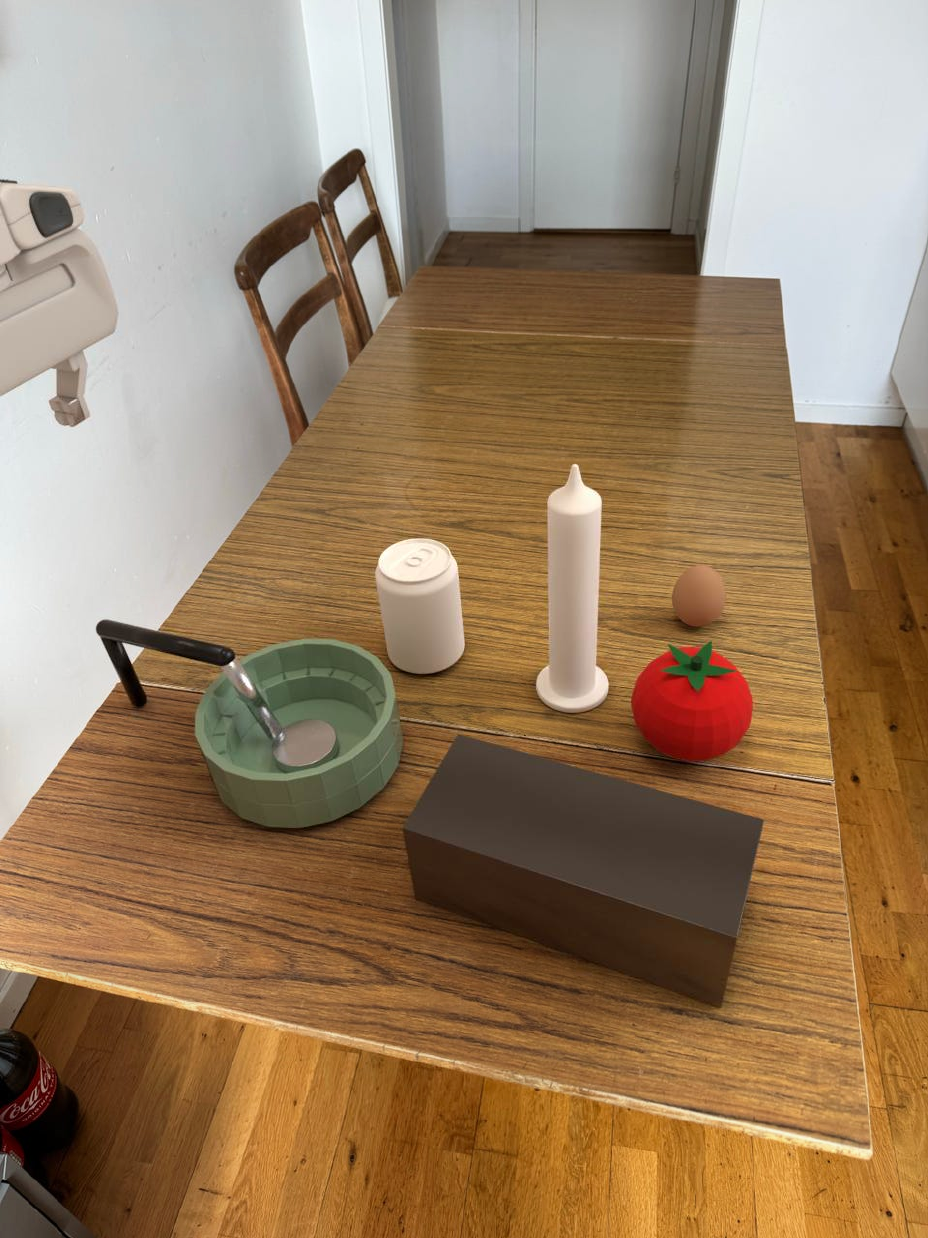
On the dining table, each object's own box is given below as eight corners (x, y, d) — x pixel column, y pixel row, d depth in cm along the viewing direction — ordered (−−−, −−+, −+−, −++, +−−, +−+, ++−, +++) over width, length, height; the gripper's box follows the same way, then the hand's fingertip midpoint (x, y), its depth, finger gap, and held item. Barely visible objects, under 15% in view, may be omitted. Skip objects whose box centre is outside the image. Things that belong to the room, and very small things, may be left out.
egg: (721, 641, 92) (729, 586, 87) (667, 635, 93) (673, 581, 89) (722, 608, 96) (730, 555, 91) (671, 603, 97) (676, 550, 93)
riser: (721, 1008, 62) (737, 938, 56) (414, 898, 71) (401, 828, 65) (747, 892, 69) (764, 819, 63) (465, 805, 78) (458, 733, 72)
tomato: (741, 704, 85) (756, 623, 78) (750, 789, 77) (766, 707, 70) (630, 696, 86) (635, 616, 80) (627, 779, 79) (632, 698, 72)
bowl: (343, 859, 74) (330, 805, 70) (175, 799, 80) (152, 746, 76) (434, 716, 86) (427, 662, 82) (281, 674, 92) (267, 622, 88)
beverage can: (372, 661, 93) (356, 568, 85) (419, 618, 98) (407, 527, 90) (435, 688, 89) (423, 593, 82) (480, 642, 94) (473, 549, 87)
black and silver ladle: (350, 735, 83) (326, 647, 77) (317, 782, 79) (288, 692, 73) (153, 684, 93) (116, 601, 86) (114, 723, 89) (72, 639, 82)
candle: (530, 668, 90) (524, 448, 75) (599, 660, 91) (607, 439, 75) (543, 718, 85) (539, 492, 69) (616, 708, 85) (628, 481, 69)
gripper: (-209, 304, 41) (-74, 550, 50) (97, 185, 55) (160, 393, 64) (-293, 293, 43) (-149, 530, 52) (22, 182, 57) (93, 383, 66)
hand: (23, 454), depth 58 cm, fingers open, 8 cm apart
